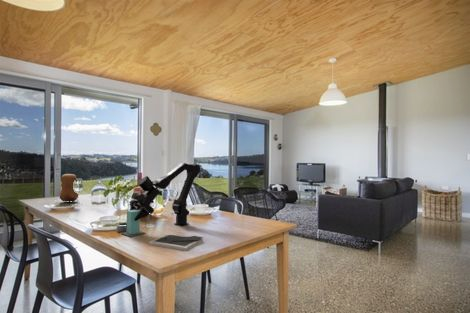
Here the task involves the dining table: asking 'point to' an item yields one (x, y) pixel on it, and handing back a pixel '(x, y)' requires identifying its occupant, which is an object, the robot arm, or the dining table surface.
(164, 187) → the robot arm
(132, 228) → the teal block
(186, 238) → the picture frame
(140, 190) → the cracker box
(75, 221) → the dining table surface
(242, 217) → the dining table surface
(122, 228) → the grey holder
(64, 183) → the butternut squash
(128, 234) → the dark grey pad
